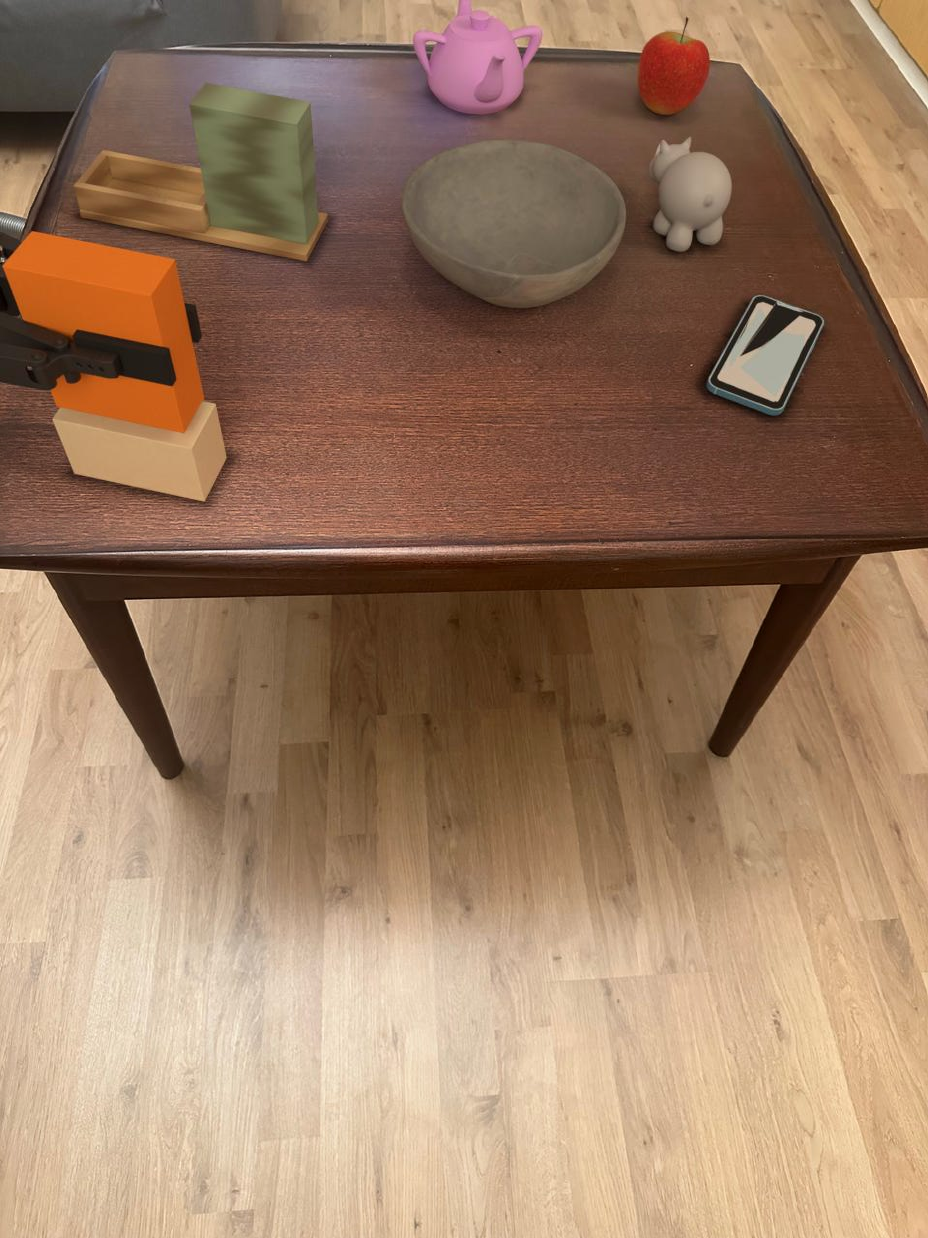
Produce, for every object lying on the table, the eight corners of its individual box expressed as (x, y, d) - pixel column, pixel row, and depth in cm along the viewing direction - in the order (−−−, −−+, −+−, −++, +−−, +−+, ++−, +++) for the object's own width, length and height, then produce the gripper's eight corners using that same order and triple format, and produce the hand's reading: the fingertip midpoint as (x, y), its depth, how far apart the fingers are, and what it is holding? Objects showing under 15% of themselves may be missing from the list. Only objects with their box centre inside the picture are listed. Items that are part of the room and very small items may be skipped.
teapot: (458, 56, 118) (462, -23, 110) (551, 96, 114) (562, 16, 106) (400, 92, 112) (400, 11, 105) (495, 135, 108) (503, 54, 101)
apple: (618, 112, 113) (635, 21, 104) (648, 85, 117) (668, -4, 108) (678, 135, 110) (701, 45, 102) (707, 107, 114) (731, 18, 106)
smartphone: (704, 383, 85) (755, 291, 93) (701, 391, 86) (752, 299, 94) (782, 413, 84) (827, 317, 91) (778, 421, 84) (824, 325, 92)
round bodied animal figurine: (679, 186, 104) (700, 109, 97) (728, 251, 98) (754, 173, 91) (620, 194, 103) (637, 116, 96) (666, 260, 97) (687, 182, 90)
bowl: (654, 304, 92) (675, 231, 86) (475, 371, 85) (482, 297, 79) (534, 192, 102) (544, 118, 95) (364, 244, 95) (362, 168, 88)
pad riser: (74, 473, 76) (51, 419, 71) (100, 431, 78) (81, 375, 73) (204, 502, 75) (191, 448, 70) (227, 457, 78) (215, 403, 73)
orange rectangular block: (56, 406, 70) (1, 265, 60) (80, 372, 72) (31, 230, 62) (184, 433, 69) (150, 295, 59) (204, 397, 72) (175, 258, 62)
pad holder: (81, 217, 94) (41, 86, 84) (111, 178, 98) (77, 49, 88) (306, 261, 93) (296, 133, 82) (328, 220, 97) (320, 93, 86)
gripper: (-48, 258, 75) (235, 314, 73) (-178, 401, 65) (145, 470, 63) (-87, 167, 68) (221, 226, 67) (-237, 310, 59) (119, 384, 57)
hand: (183, 345), depth 65 cm, fingers closed on orange rectangular block, 4 cm apart
